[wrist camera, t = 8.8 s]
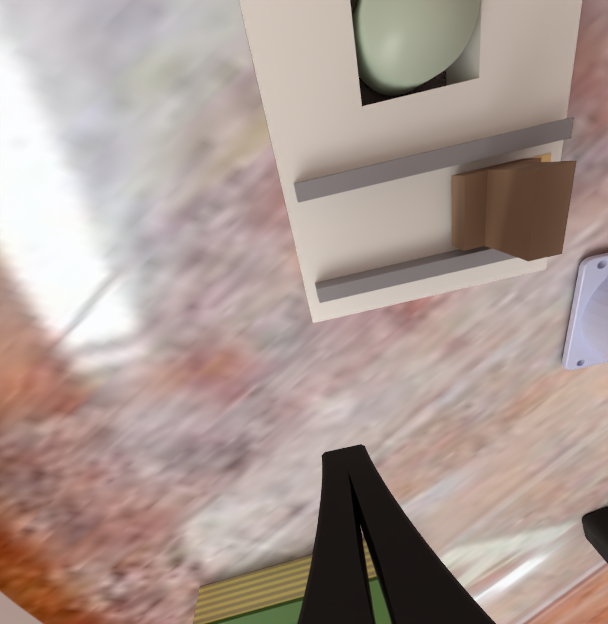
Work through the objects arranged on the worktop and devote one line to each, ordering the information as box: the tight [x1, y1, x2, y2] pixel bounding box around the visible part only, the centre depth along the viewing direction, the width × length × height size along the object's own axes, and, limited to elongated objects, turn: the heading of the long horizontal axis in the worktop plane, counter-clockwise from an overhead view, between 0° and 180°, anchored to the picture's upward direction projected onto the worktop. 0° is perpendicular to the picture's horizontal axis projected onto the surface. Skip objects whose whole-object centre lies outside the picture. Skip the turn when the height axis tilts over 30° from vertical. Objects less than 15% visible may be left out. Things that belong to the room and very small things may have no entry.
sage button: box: [352, 0, 480, 96], centre depth 11 cm, size 4×4×2 cm
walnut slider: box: [451, 158, 576, 261], centre depth 12 cm, size 3×3×4 cm
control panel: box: [239, 0, 582, 323], centre depth 11 cm, size 12×22×3 cm, turn 12°
